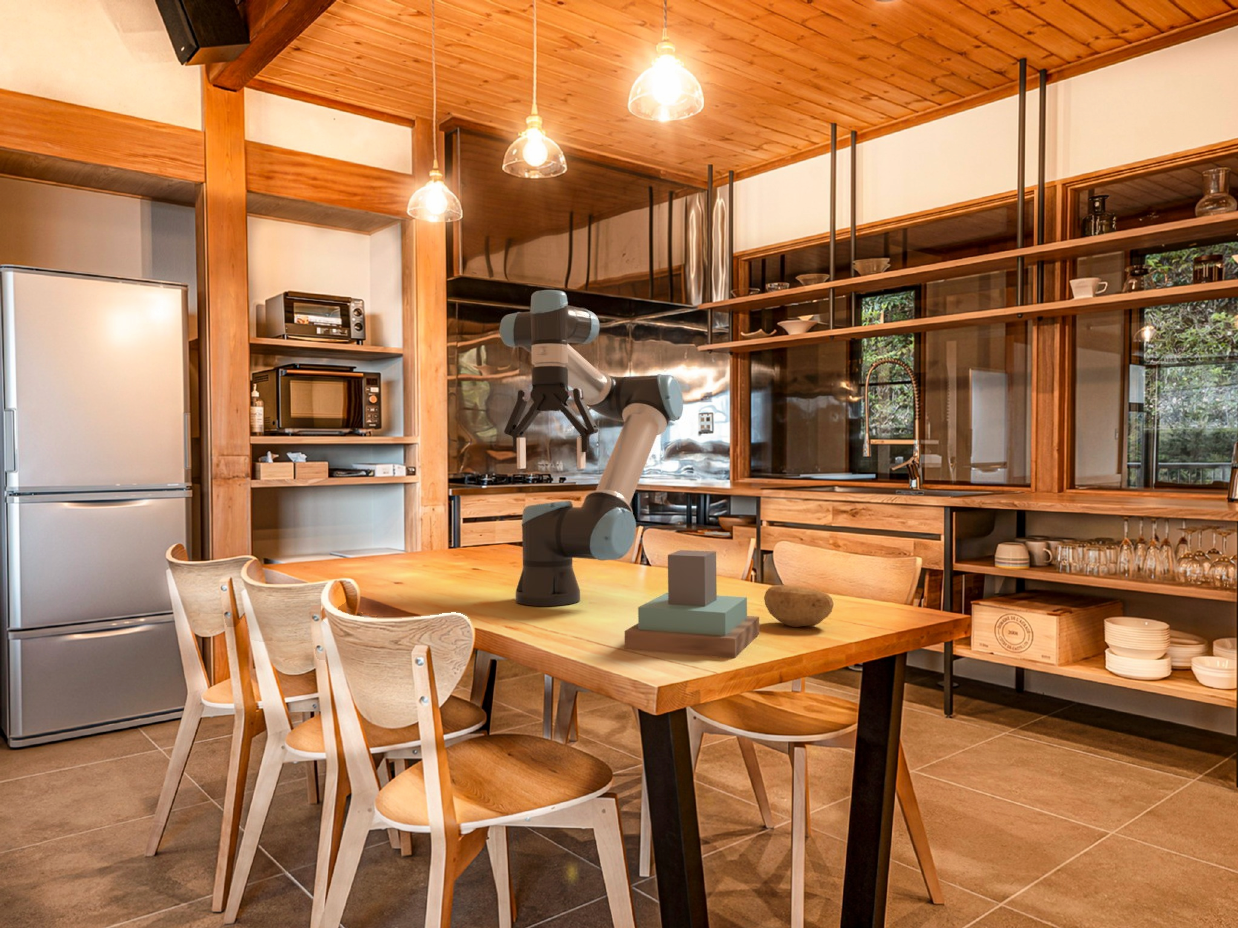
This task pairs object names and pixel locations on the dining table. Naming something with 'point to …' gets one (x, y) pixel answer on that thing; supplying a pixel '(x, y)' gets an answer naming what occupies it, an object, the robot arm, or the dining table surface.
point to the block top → (693, 616)
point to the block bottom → (694, 640)
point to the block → (692, 578)
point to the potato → (798, 605)
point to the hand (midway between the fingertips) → (551, 468)
